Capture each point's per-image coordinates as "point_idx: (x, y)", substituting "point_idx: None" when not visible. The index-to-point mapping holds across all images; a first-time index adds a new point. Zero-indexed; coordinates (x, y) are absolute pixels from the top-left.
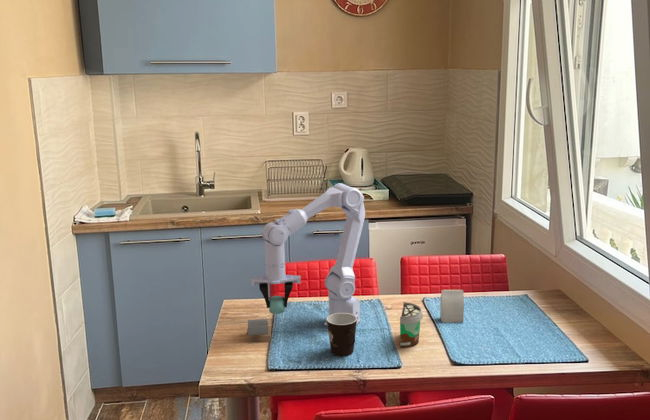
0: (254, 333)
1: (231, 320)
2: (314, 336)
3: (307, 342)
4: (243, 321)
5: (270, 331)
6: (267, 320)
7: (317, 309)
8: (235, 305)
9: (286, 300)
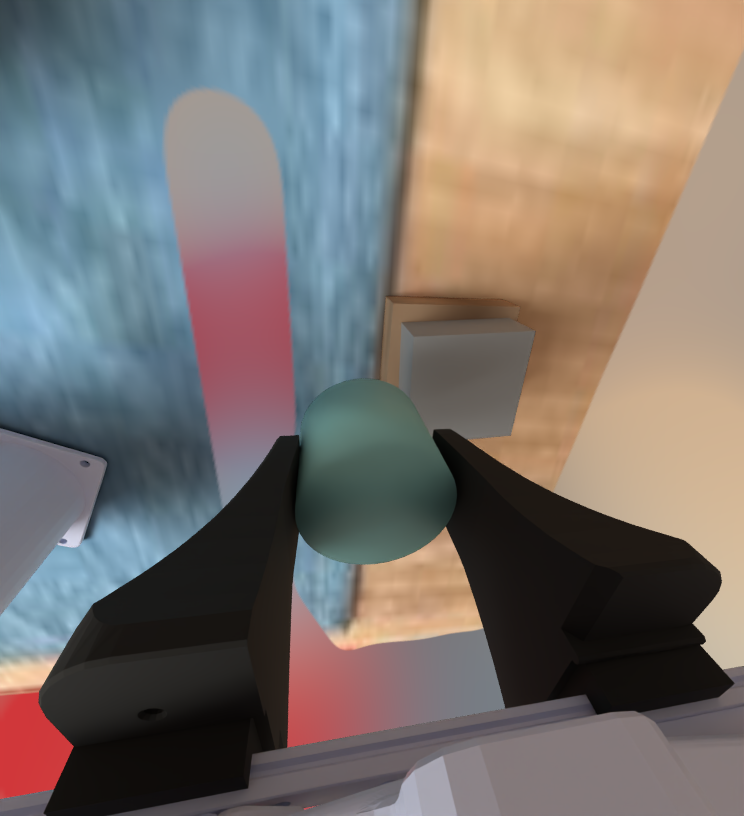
0: (481, 321)
1: None
2: (134, 335)
3: (163, 253)
4: None
5: (385, 373)
6: None
7: None
8: None
9: (267, 471)
